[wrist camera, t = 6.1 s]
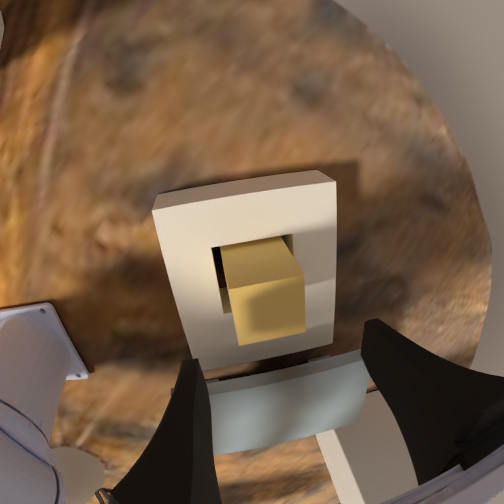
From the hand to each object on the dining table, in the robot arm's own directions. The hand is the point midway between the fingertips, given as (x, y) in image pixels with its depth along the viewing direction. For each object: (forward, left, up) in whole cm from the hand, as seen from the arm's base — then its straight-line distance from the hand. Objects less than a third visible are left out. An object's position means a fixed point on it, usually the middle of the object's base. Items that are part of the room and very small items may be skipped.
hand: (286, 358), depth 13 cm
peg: (0, 0, -10) cm, 10 cm away
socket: (0, 0, -10) cm, 10 cm away
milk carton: (+9, -23, -10) cm, 27 cm away
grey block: (0, -10, -10) cm, 14 cm away
